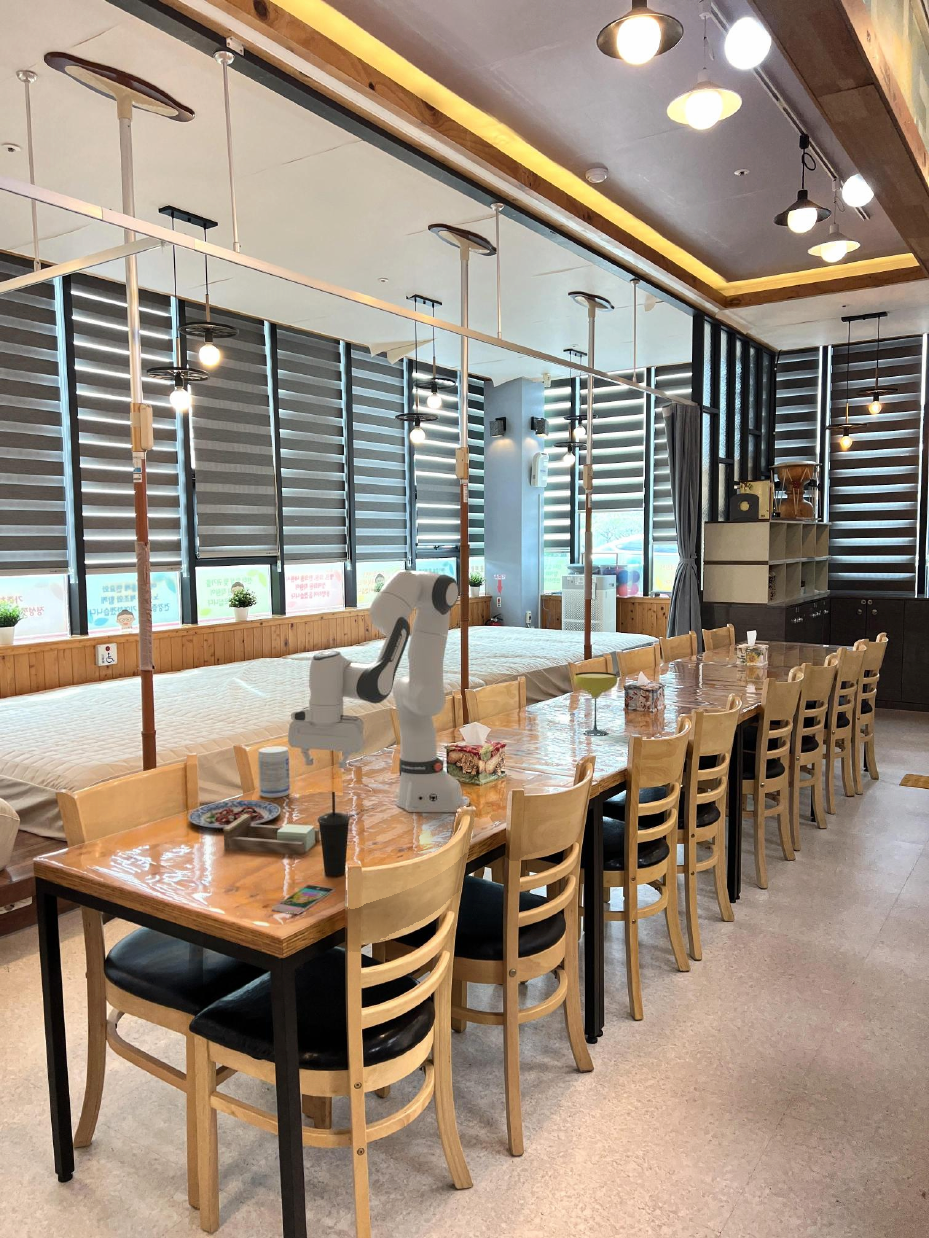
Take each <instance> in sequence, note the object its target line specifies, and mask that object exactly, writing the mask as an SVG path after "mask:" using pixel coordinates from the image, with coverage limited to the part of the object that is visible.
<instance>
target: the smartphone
mask: <svg viewBox="0 0 929 1238" xmlns="http://www.w3.org/2000/svg"><path fill="white" fill-rule="evenodd" d="M335 890H336V889H335V888H332V887H328V886H327V887H326V886H320V885H314V884H307V885H305V886H304V887H302V888H300V889H299V890H297V891H296V892H295V893H293V894H291V895H290V896H288V897H287V898H285V899H283V900H282V901H280V902H278V903H277V904H276V905H274V906H273V907H271V908H270V909H271V911H272V910H274V911H273V912H277V911H280V912H279V913H283V912H288V913H289V912H290V913H294V914H300V913H301V912H303V911H304V910H305V909H307V908H309V907H310V906H312V905H313V904H315V903H316V902H317V903H318V901H319V902H320V901H321V900H323V899H324V898H326V897H327V896H328V895H330V894H331V893H333V892H334V891H335ZM325 896H326V897H325ZM317 903H316V904H317ZM316 904H315V905H316ZM313 906H314V905H313ZM313 906H312V907H313ZM310 908H311V907H310ZM310 908H309V909H310ZM303 909H304V910H303ZM304 912H305V911H304ZM304 912H303V913H304ZM288 913H287V914H288ZM294 914H293V915H294ZM300 915H301V914H300Z"/></svg>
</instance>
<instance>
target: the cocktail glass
mask: <svg viewBox="0 0 929 1238" xmlns="http://www.w3.org/2000/svg"><path fill="white" fill-rule="evenodd" d="M573 676H574V677H573V682H574V684H575V686H577V687H578V688H579V689H581V690H582V691H584V692H586V693H588V694H590V696H591V697H592V699H594V723H593V729H590V730H589V729H586V730H584V731H585V732H587V734H594V735H597V734H600V735H601V734H602V735H603V734H607V735H608V734H609V732H608V733H607V731H605V730H602V729H598V727H597V699H598V698H600V696H601V695H602V694H603V693H605V692H607V691H609V690H611V689H613V688H614V687H615V686H616V685H617V684H618V675H617V674H616V673H612V672H603V671H602V672H601V671H586V672H585V671H584V672H577V673H574V675H573Z"/></svg>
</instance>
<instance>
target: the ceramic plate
mask: <svg viewBox="0 0 929 1238" xmlns="http://www.w3.org/2000/svg"><path fill="white" fill-rule="evenodd" d="M222 802H223V803H222ZM281 811H282V810H281V807H280V806H279V805H278V804H275V803H274V802H273V803H272V802H270V801H264V800H255V799H238V800H235V799H234V800H227V801H226V800H225V801H219V802H215V803H209V804H206V805H203V806H201V807H198V808H195V809H194V810H192V811H191V812H190V813H189V815H188V820H189V821H190V823H192V824H194V825H197V826H202V827H207V828H216V829H223V828H225V827H226V826H228V825H230V824H231V823H233V822H234V821H236V820H237V819H239V818H241V817H242V816H244V815H245V814H247V815H251V824H255V825H260V824H261V823H265V822H268V821H270V820H273V819H274V818H276V817H278V816H279V815H280V813H281Z"/></svg>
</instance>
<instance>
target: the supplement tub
mask: <svg viewBox="0 0 929 1238" xmlns="http://www.w3.org/2000/svg"><path fill="white" fill-rule="evenodd" d="M289 755H290V754H289V748H288V747H286V746H279V745H277V746H267V747H261V748H259V749H258V756H257V759H258V760H257V761H258V763H257V764H258V768H257V769H258V788H259V789H258V791H259V792H258V793H259V795H260V797H263V798H266V799H274V798H275V799H276V798H282V797H285V796H287V795H289V794H290V792H291V788H290V787H291V783H290V756H289Z"/></svg>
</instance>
